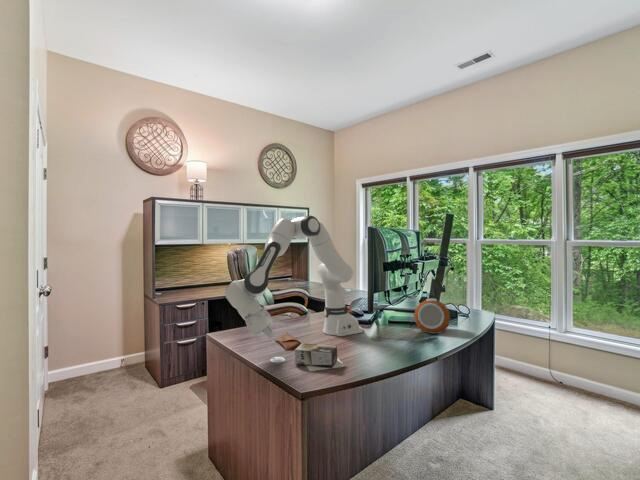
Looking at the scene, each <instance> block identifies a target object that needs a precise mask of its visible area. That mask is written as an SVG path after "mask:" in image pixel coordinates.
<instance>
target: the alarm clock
mask: <svg viewBox="0 0 640 480" xmlns="http://www.w3.org/2000/svg"><path fill="white" fill-rule="evenodd" d="M414 310H415V311H414V315H413V318H414V323H415V324H416V325H417V327H418V328H419V329H420V331H422V332H424V333H427V334H428V333H429V334H440V333H443V332H444V331H445V330H447V328H448V327H449V325H450V321H451V316H450V311H449V309H447V306H446V305H445V304H443V303H442V302H441V301H439V300H438V299H436V298H433V297H432V298H431V297H430V298H429V297H428V298H426V299H425V300H423V301H421V302H420V303H419V304H418V305H417V306H416V308H415V309H414Z"/></svg>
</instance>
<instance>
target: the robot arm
mask: <svg viewBox="0 0 640 480" xmlns="http://www.w3.org/2000/svg"><path fill="white" fill-rule="evenodd" d="M305 238H308V240H309V242H310V244H311V248H312V249H313V251H314V253H315V257H317V259H318V260H319V261H320V262H321V263H320V264H319V265H318V266H317V274H318V276H319V278H320V280H321V282H322V283H321V284H322V285H323V290H324V299H325V300H324V302H325V303H324V305H325V306H324V310H323V311H324V324H323V328H322V332H323V333H324V334H325V335H330V336H331V335H332V336H338V337H343V336H345V337H346V336H349V335H355V334H360V333H363V332H364V329H363V328H362V327H361V326H360V324H359V320H358V319H357V318H356V317H355V316H354V315H352V314H351V313H349V312H351V311H352V308H351V307H350V306H347V305H346V292H345V290H344V289H343V287H342V285H341V284H342V283H343V284H344V283H348V282H350V281H351V280H352V279H353V275H354V269H353V268H352V266H351V265H349V264H348V263H347V262H346V261H345V260H344V259H343V257H342V256H341V255H340V253H339V252H338V250H337V249H336V246H335V244H334V243H333V240H332V238H331V236H330V234H329V232H328V230H327V228H326V227H325V226H324V224H323V223H322V222H321V221H319V220H318V218H317V217H316V216H313V215H304V216H303V215H302V216H298V217H295V218H292V219H290V218H286V217H285V218H283V217H282V218H280V219H279V220H278V221H277V222H276V223H275V225H273V227H272V229H271V230H270V232H269V234H268V236H267V238H266V241H265V243H264V244H265V245H264V251H263V253H262V255H261V257H260V258H259V260H258V262H257V264H256V265H255V267H254V268H253V269H251V270H250V271H248V273H246V275H245V277H244V279H239V280H233V281H231V282H230V283H229V284H228V285H227V287H226V288H225V289H224V296H225V297H226V300H227V301H228V302H229V304H230V305H231V306H232V307H233V308H235V309H236V311H237V312H238V314H239V315H240V316H241V318H242V319H243V320H244V321H245V325H246V327H247V328H248V329H249V331H250V333H252V334H253V335H254V336H258V335H260V334H261V333H262V334H264V335H266V336H267V337H268V338H269V339H271V338H272V337H274V336H275V332H274V331H273V330H272V327H271V325H272V324H273V323H274V322H275V320H274V318H273V317H272V316H271V314H270V312H268V311H267V310H266V309H265V308H266V306H264V305H263V304H261V303H258V302H257V301H256V300H257V299H258V298H260V297H261V296H263V295H264V294H265V292H266V290H267V288H268V285H269V274H270V272H271V269H272V267H273V265H274V263H275V262H276V260H277V259H278V257H281V256H284V254H285V253H286V251H287V250H288V248H289V246H290V244H291V242H292V240H296V239H300V240H301V239H305Z"/></svg>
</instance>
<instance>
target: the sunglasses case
mask: <svg viewBox="0 0 640 480" xmlns="http://www.w3.org/2000/svg"><path fill="white" fill-rule="evenodd" d="M274 342H275V343H277V344H278V345H280V347H282V348H283V349H284V350H285V352H290V351H295V349H296V348H297V347H298V346H299V345H301V344H302V342H300V341H299V340H298V339H297V338H295V337H294V336H292V335H291V334H290V333H289V332H286V333H284V334H283V335H281V336H280V337H278V338H277V339H275V340H274Z"/></svg>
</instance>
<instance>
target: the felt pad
mask: <svg viewBox="0 0 640 480" xmlns="http://www.w3.org/2000/svg"><path fill="white" fill-rule="evenodd" d="M305 366H306V368H307V370H308V371H309V372H315V371H322V370H330V369H336V368H344V367H346V365H345V364H344V363H343V361H342V360H340V358H338V357H337V361H336V363H335V364H334V366H333V367H332V368H327V367H318V366H309V365H305Z"/></svg>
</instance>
